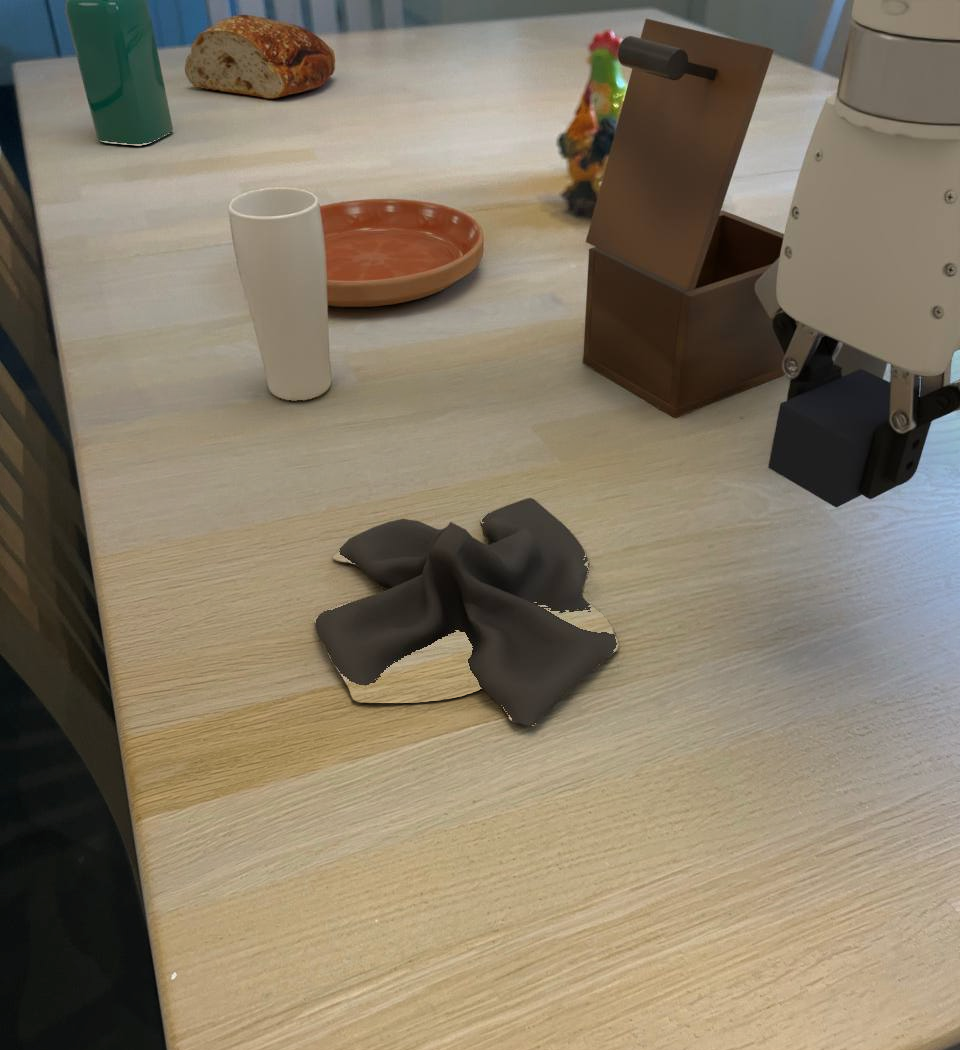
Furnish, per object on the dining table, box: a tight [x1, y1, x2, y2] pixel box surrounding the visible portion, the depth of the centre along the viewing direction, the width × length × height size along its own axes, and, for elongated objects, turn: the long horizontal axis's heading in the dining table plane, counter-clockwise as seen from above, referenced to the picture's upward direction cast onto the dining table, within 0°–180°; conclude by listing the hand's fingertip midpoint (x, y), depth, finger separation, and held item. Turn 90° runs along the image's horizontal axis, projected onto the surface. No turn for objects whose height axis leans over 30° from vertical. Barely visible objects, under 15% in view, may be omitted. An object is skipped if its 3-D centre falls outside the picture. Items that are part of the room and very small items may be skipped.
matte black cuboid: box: [768, 369, 920, 508], centre depth 51 cm, size 6×5×4 cm
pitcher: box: [64, 0, 174, 144], centre depth 132 cm, size 10×8×22 cm
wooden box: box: [582, 209, 785, 418], centre depth 83 cm, size 15×12×10 cm
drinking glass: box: [227, 186, 333, 402], centre depth 79 cm, size 7×7×15 cm
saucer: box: [319, 198, 485, 308], centre depth 101 cm, size 23×23×4 cm
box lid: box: [585, 18, 775, 290], centre depth 71 cm, size 15×12×6 cm
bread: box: [184, 14, 336, 99], centre depth 156 cm, size 20×18×10 cm
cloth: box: [314, 497, 617, 727], centre depth 61 cm, size 22×19×6 cm
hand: (842, 461), depth 52 cm, fingers closed on matte black cuboid, 4 cm apart
